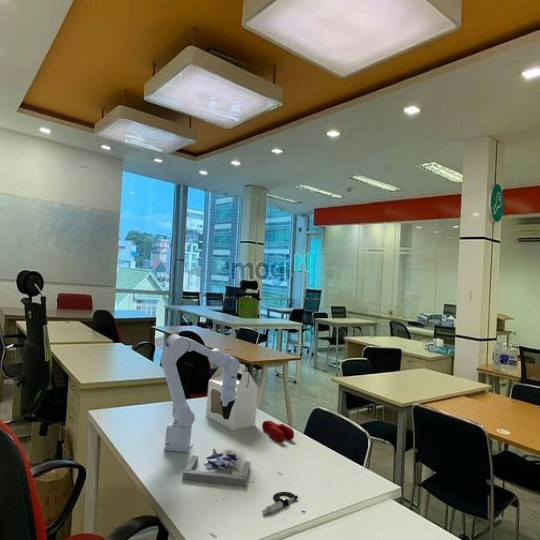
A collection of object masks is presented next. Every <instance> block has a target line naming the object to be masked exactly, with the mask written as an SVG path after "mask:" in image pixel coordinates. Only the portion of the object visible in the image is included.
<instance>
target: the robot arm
mask: <svg viewBox="0 0 540 540" xmlns="http://www.w3.org/2000/svg"><path fill="white" fill-rule="evenodd" d="M193 351H195V352H197V353H199V354H200V355H203V356H206V357H207V358H208V361H209V362H210V363H212V364H215V365H216V366H218V367H219V366H220V367H223V368H224V372H223V383H222V394H221V399H222V401H221V402H220V405H221V407H222V411H223V418H224V419H229V417H230V413H231V410H232V407H233V405H234V403H235V399H236V400H237V399H238V397H236V396H235V392H236V380H238V379H237V377H238V373H237V372H238V370H239V369H240V366H241V365H240V363H241V362H240V361H239V359H238V358H236V357H234V356H232V354H230V353H226V352H224V351H223V350H222V349H221V348H217V347H216V348H213V349H212V348H208V347H207V346H205V345H203V344H201V343H199V342H197V341H196V340H193V339H191V338H189V337H185V336H180V335H179V334H177V333H173V334H170V335H169V336H168V337H167V338H166V340H164V342H163V350H162V354H161V358H160V362H161V366H162V367H161V368H162V370H163V373H164V376H165V380H166V385H167V386H168V390H169V394H170V397H171V401H172V404H171V405H172V412H171V414H172V417H173V419H174V420H173V422H169V423H168V424H167V426H166V431H165V436H164V437H165V438H164V439H165V440H164V447H163V450H164V451H173V452H181V453H189V451H190V449H191V448H192V446H193V445H194V443H193V442H191V440H192V426H193V424H194V422H195V420H196V418H195V413H194V412H193V411H191V408H190V406H189V403H188V401H187V399H186V396H185V391H184V389H183V385H182V381H181V378H180V375H179V372H178V367H177V361H178V360H179V358H181V357H182V356H183V355H184V354H185V353H187V352H189V353H190V352H193ZM226 369H227V370H226Z"/></svg>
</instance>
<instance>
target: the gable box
mask: <svg viewBox="0 0 540 540" xmlns="http://www.w3.org/2000/svg"><path fill="white" fill-rule="evenodd" d="M239 363H240V365H241V366H240V369H239V370H238V372H237V374H240V375H241V378H240V380H239V379H237V380H236V392H235V396H236V397H238V399H237V400H236V399H235V403H234V405H233V407H232V410H231V413H230V417H229V419H224V418H223V411H222V407H221V405H220V402H221V401H222V399H221V394H222V383H223V372H224V368H223V367H220V366H218V368H217V369H216V370H215V372H214V373H213V374H212V376H211V377H210V378H209V380H208V385H207V396H206V397H207V400H206V408H205V409H206V411H205V416H206V417H208V418H209V419H211V420H213V421H215V422H216V423H217V424H221V425H222V426H223V427H226V428H228V429H229V430H231V431H237V430H240V429H245V428H249V427H253V426H255V425H256V416H257V407H258V394H259V387H258V385H257V384H256V382H255V380H254V379H253V377H252V375H251V373H250V372H249V371H247V365H246V364H243V363H241V362H239ZM226 370H227V369H226Z"/></svg>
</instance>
